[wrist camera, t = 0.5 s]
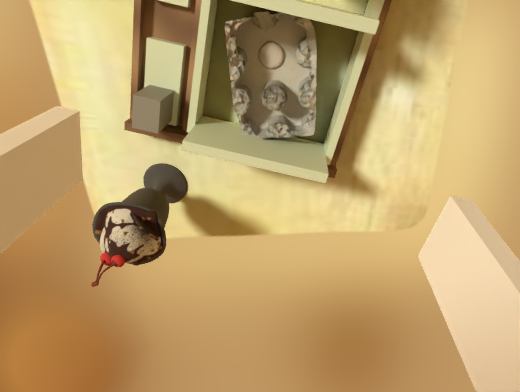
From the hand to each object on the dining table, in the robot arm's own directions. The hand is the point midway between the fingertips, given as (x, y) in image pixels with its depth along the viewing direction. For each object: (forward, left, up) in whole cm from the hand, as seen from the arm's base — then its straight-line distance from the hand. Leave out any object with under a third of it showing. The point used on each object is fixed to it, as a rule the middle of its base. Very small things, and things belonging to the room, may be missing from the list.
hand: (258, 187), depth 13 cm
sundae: (+15, -10, -25) cm, 30 cm away
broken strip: (0, -11, -24) cm, 27 cm away
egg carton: (+1, -1, -24) cm, 24 cm away
